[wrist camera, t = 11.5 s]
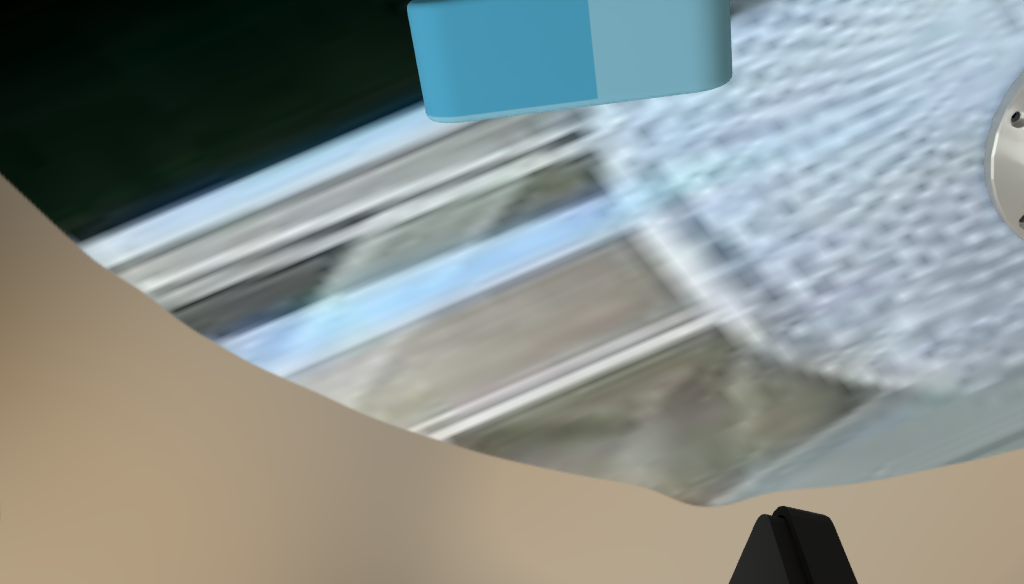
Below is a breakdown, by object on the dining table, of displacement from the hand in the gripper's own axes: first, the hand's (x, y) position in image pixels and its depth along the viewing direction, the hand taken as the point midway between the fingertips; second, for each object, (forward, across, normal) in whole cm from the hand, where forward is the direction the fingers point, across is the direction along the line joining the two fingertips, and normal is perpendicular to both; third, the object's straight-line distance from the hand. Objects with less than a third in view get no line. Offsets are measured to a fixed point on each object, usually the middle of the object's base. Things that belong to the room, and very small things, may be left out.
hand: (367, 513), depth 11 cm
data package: (+37, -2, -2) cm, 37 cm away
